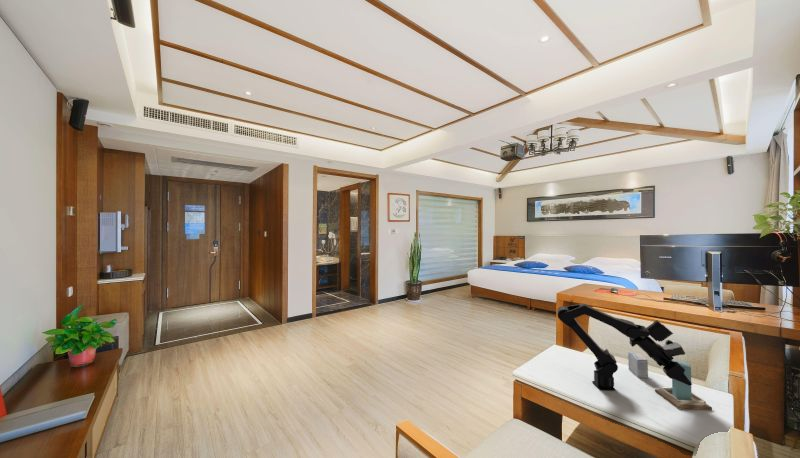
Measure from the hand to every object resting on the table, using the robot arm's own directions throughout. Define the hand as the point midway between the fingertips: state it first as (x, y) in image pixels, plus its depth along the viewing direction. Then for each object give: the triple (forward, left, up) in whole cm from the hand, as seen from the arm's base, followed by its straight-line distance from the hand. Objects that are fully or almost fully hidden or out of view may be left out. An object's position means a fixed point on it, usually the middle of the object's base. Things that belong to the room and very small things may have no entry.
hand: (686, 379), depth 120 cm
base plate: (-1, 0, -9) cm, 9 cm away
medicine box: (-4, +21, -9) cm, 24 cm away
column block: (-1, 0, -8) cm, 8 cm away
